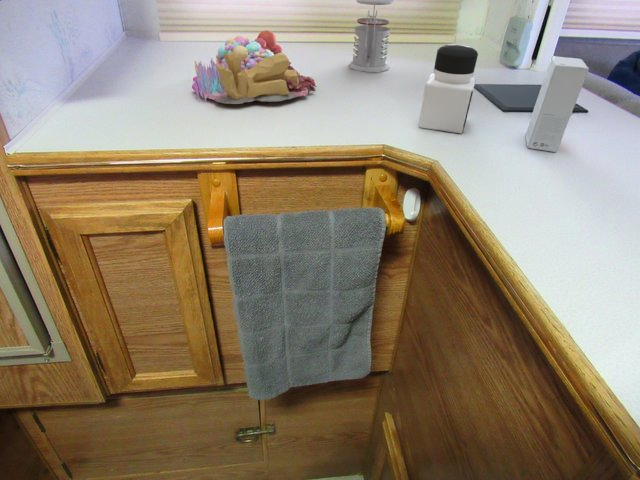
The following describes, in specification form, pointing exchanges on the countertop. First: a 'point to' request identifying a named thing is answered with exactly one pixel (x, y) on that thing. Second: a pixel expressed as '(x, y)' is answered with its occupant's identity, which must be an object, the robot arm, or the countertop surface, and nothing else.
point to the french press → (371, 41)
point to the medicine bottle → (449, 89)
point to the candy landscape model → (250, 73)
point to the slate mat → (515, 97)
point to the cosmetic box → (555, 102)
